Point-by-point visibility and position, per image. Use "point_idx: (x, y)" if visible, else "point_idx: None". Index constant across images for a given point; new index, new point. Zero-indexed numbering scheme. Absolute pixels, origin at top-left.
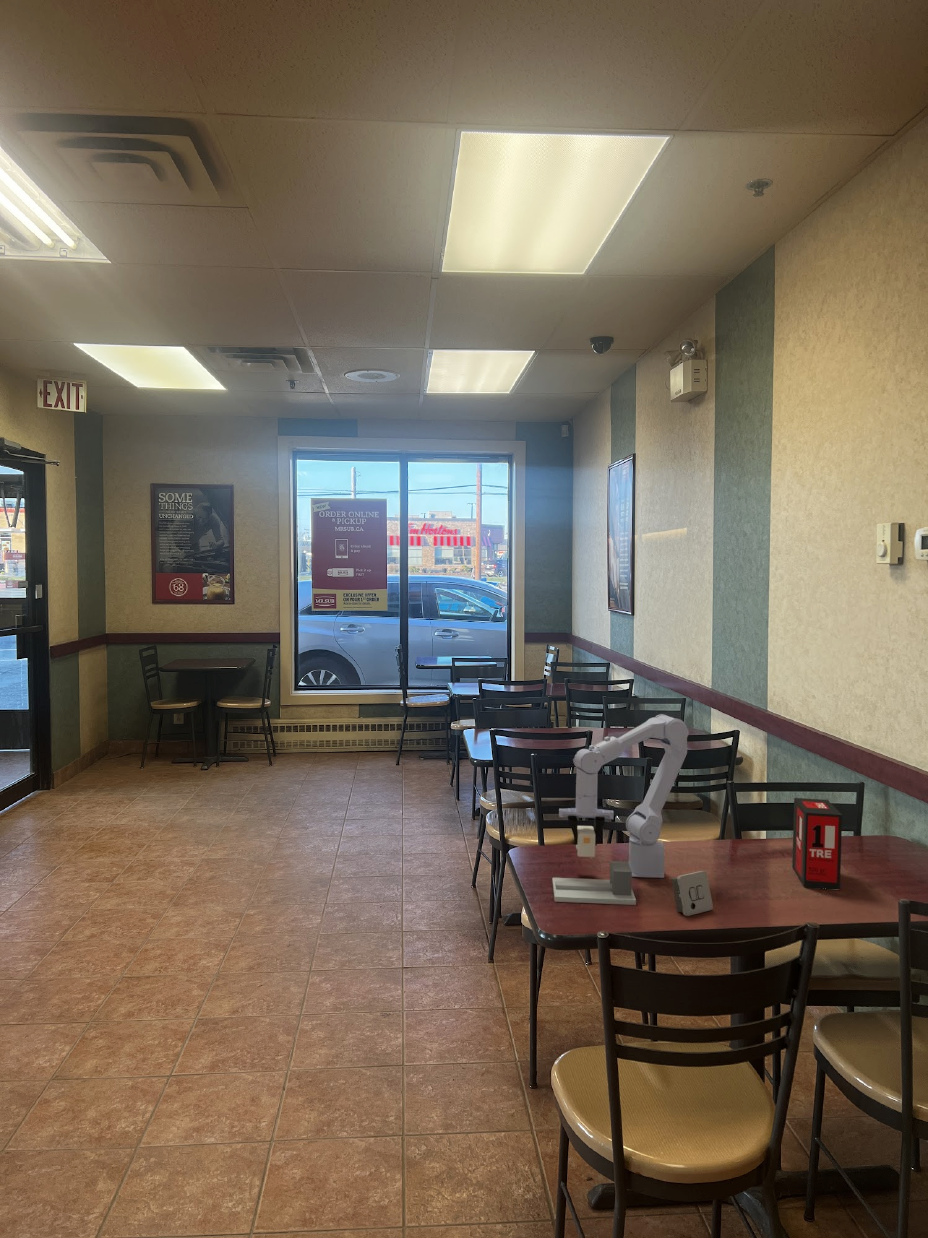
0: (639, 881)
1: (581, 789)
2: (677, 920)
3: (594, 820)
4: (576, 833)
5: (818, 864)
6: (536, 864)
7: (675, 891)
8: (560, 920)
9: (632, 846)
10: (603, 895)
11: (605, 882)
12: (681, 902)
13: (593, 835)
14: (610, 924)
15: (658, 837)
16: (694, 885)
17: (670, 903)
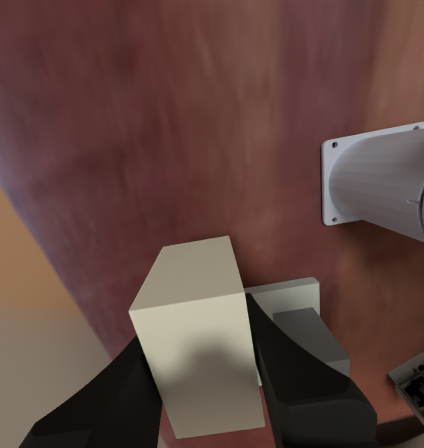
0: (344, 244)
1: None
2: (376, 400)
3: (274, 406)
4: (160, 396)
5: None
6: (57, 191)
7: (420, 413)
8: (193, 439)
9: (408, 229)
10: (258, 373)
11: (262, 309)
12: (411, 400)
13: (254, 424)
14: (268, 433)
15: None
16: None
17: (384, 344)
